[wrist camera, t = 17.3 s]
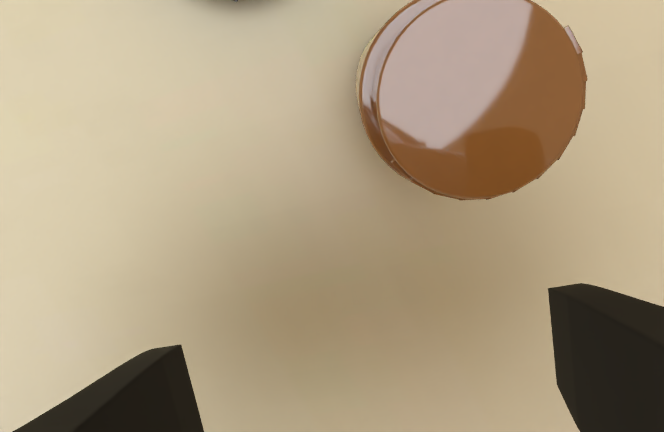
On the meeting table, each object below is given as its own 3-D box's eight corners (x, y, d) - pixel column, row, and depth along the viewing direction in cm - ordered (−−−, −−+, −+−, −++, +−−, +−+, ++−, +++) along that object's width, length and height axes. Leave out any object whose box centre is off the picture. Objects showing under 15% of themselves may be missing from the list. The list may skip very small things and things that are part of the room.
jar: (399, 175, 20) (434, 255, 12) (329, 61, 19) (315, 60, 11) (515, 104, 19) (642, 136, 11) (449, -17, 18) (531, -82, 10)
